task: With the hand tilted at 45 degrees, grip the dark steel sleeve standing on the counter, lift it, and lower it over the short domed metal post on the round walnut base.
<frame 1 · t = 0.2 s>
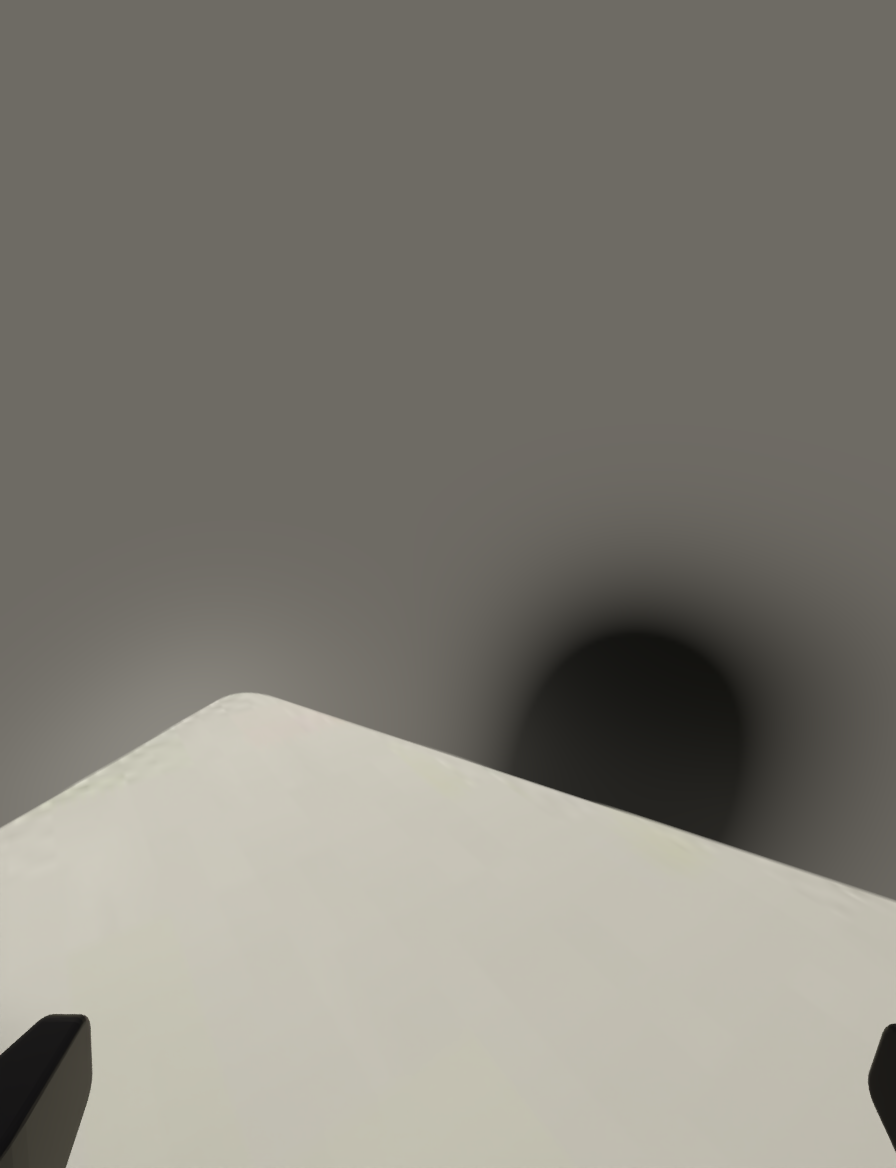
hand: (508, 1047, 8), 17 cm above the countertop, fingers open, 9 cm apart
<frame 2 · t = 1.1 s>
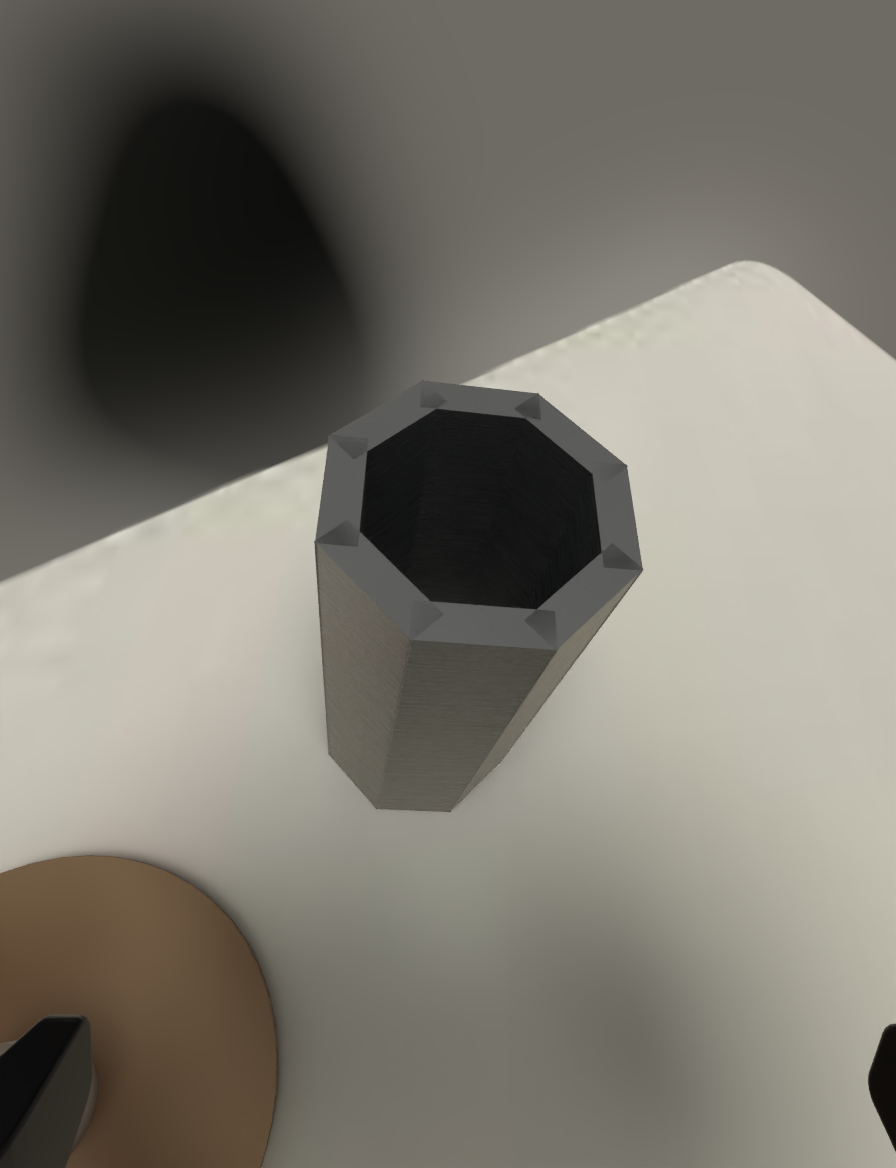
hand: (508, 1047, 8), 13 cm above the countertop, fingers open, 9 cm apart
steel sleeve: (416, 724, 23), on the countertop
post stand: (49, 1098, 17), on the countertop
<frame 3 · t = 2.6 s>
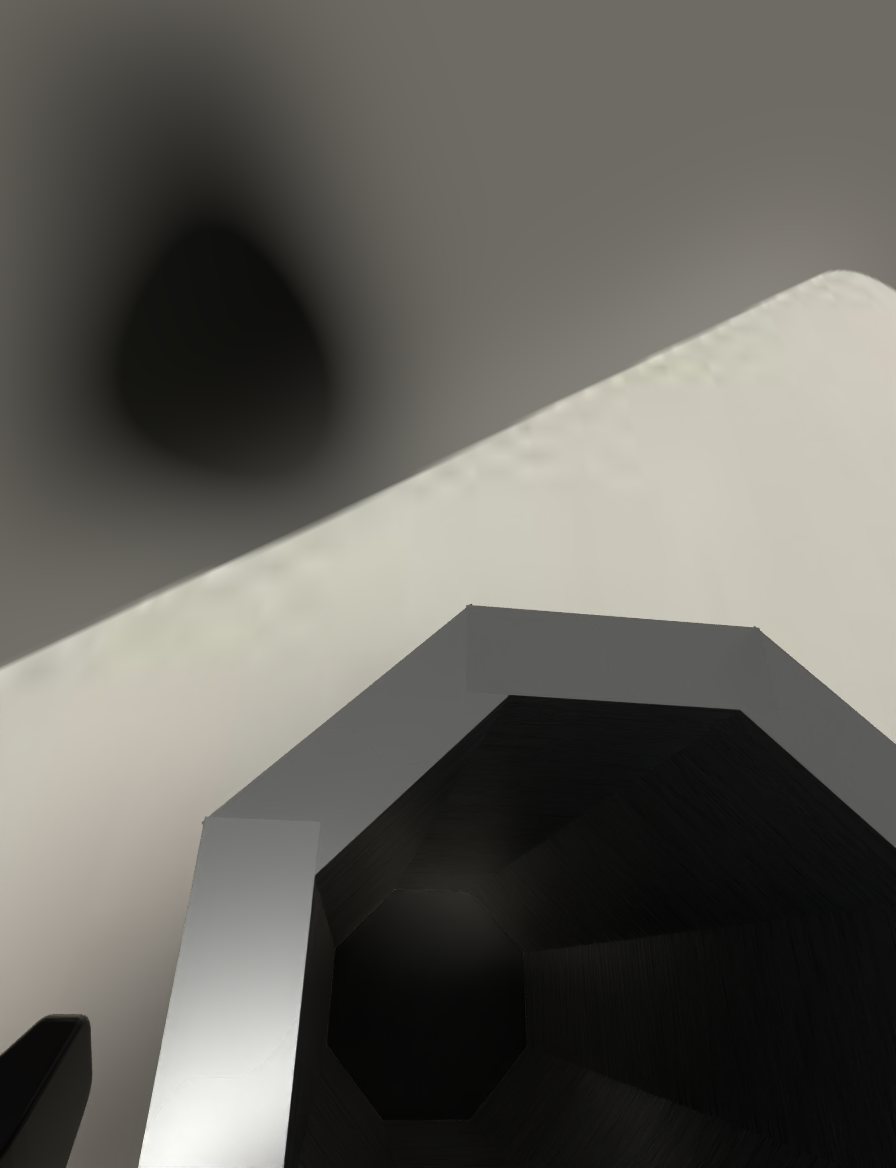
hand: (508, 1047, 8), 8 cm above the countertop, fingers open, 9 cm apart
steel sleeve: (429, 996, 15), on the countertop
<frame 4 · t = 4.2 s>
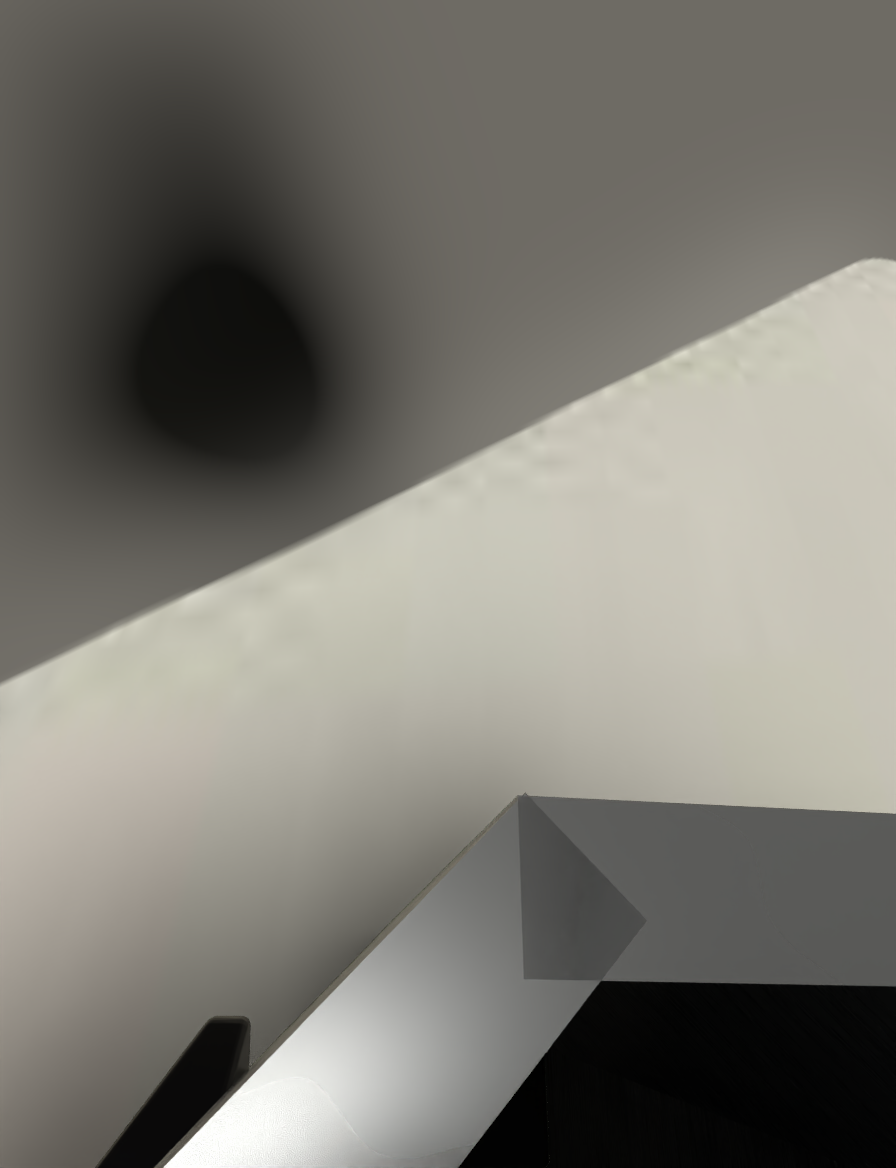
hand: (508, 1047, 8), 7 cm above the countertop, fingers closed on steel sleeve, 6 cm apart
steel sleeve: (435, 1102, 12), on the countertop, touching gripper
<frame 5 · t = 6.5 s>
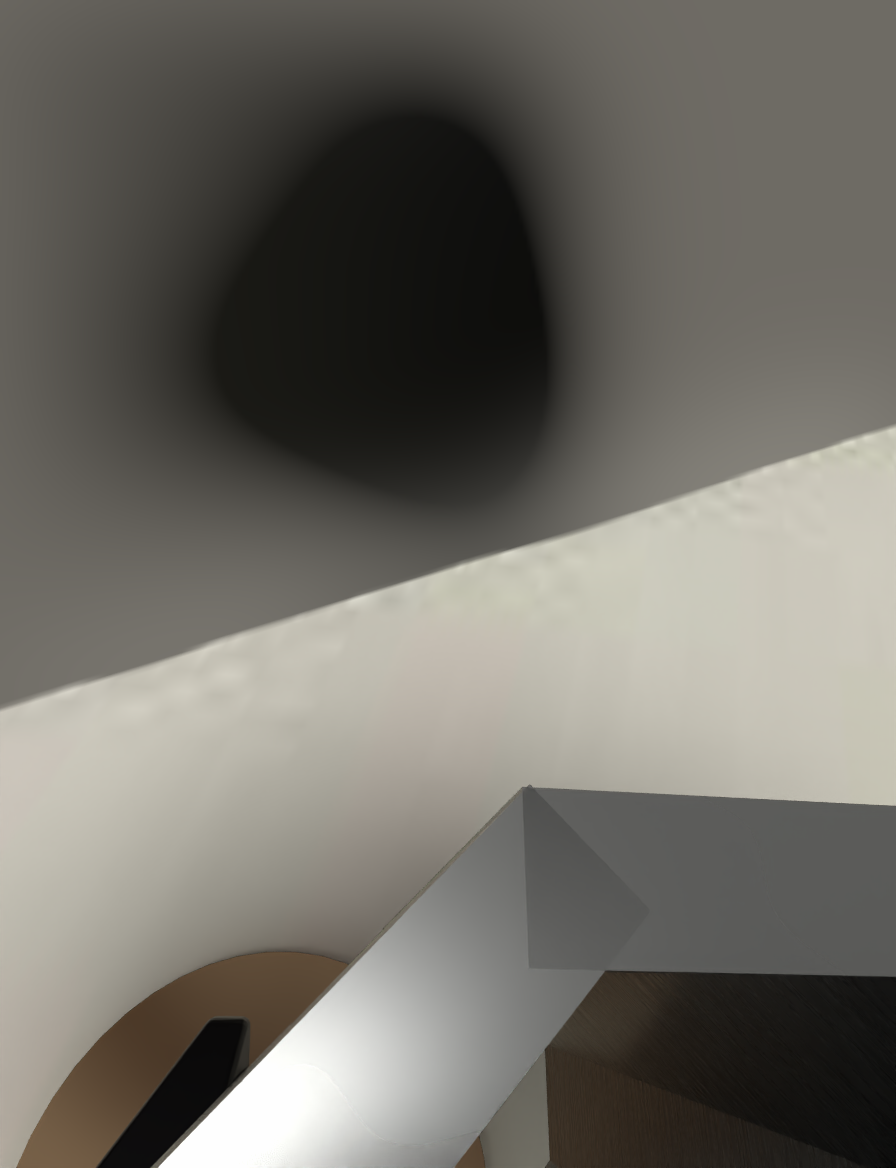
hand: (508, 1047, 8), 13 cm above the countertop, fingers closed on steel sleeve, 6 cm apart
steel sleeve: (436, 1100, 12), point 6 cm above the countertop, touching gripper
when the fingers open (8 cm above the countertop, at t = 8.9 s): steel sleeve stays where it is, resting on post stand.
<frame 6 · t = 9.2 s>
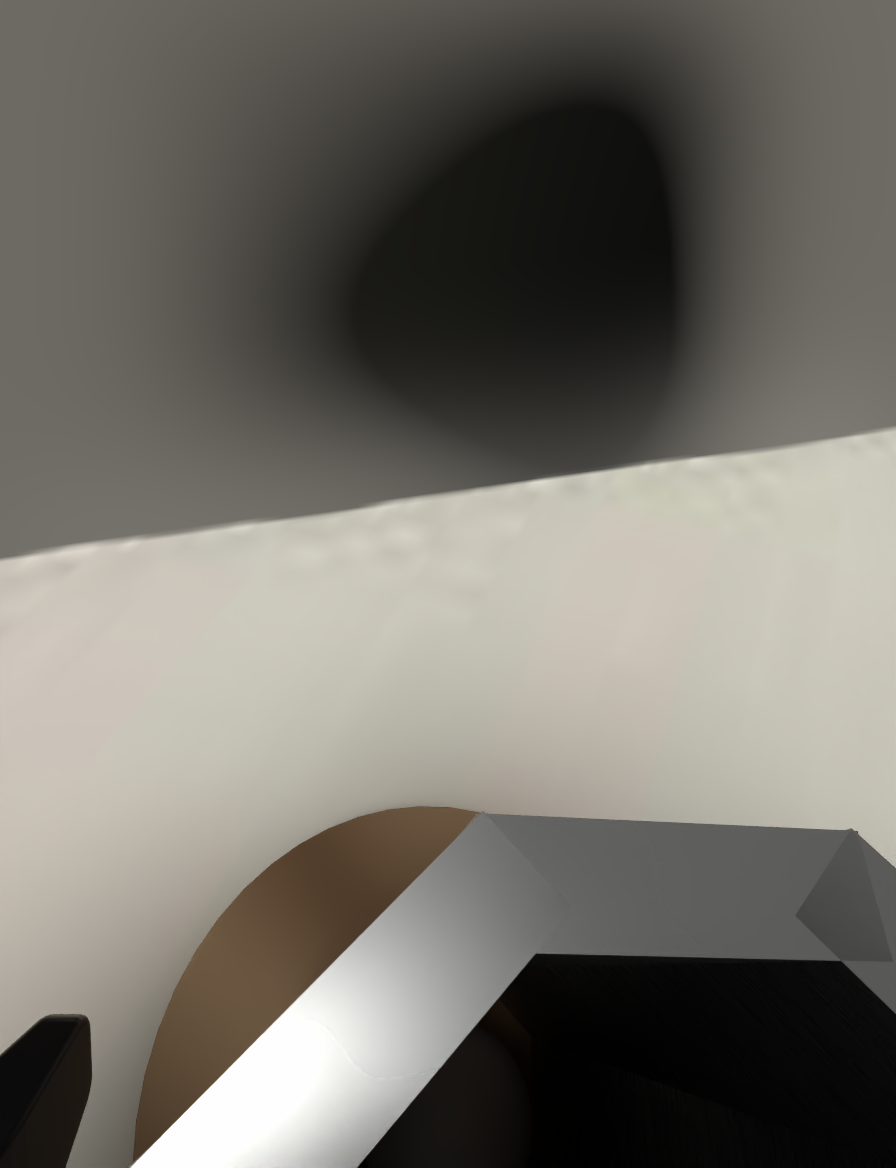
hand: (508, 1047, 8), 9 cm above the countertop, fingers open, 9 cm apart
steel sleeve: (429, 1088, 13), point 1 cm above the countertop, touching post stand
post stand: (425, 1086, 14), on the countertop
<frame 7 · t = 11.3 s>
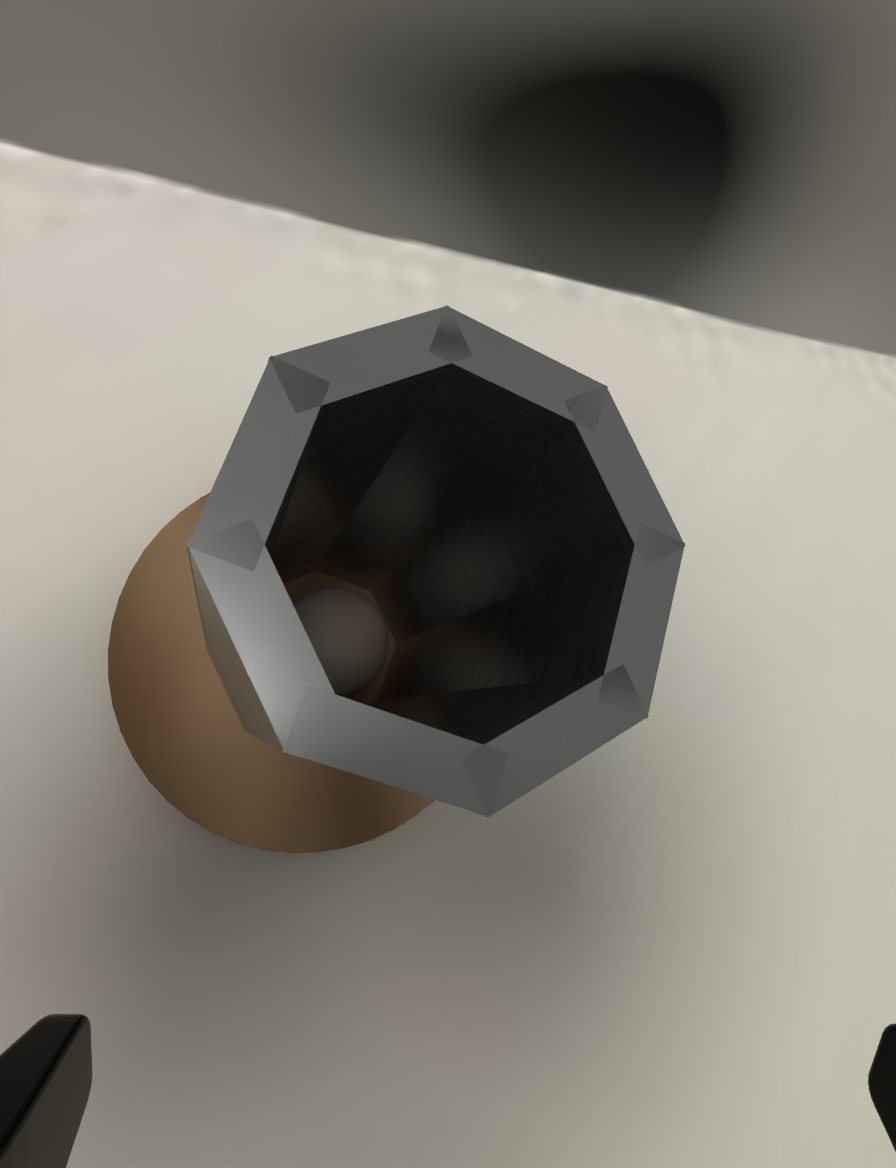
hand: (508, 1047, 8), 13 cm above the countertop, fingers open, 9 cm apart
steel sleeve: (319, 647, 19), point 1 cm above the countertop, touching post stand
post stand: (314, 653, 20), on the countertop
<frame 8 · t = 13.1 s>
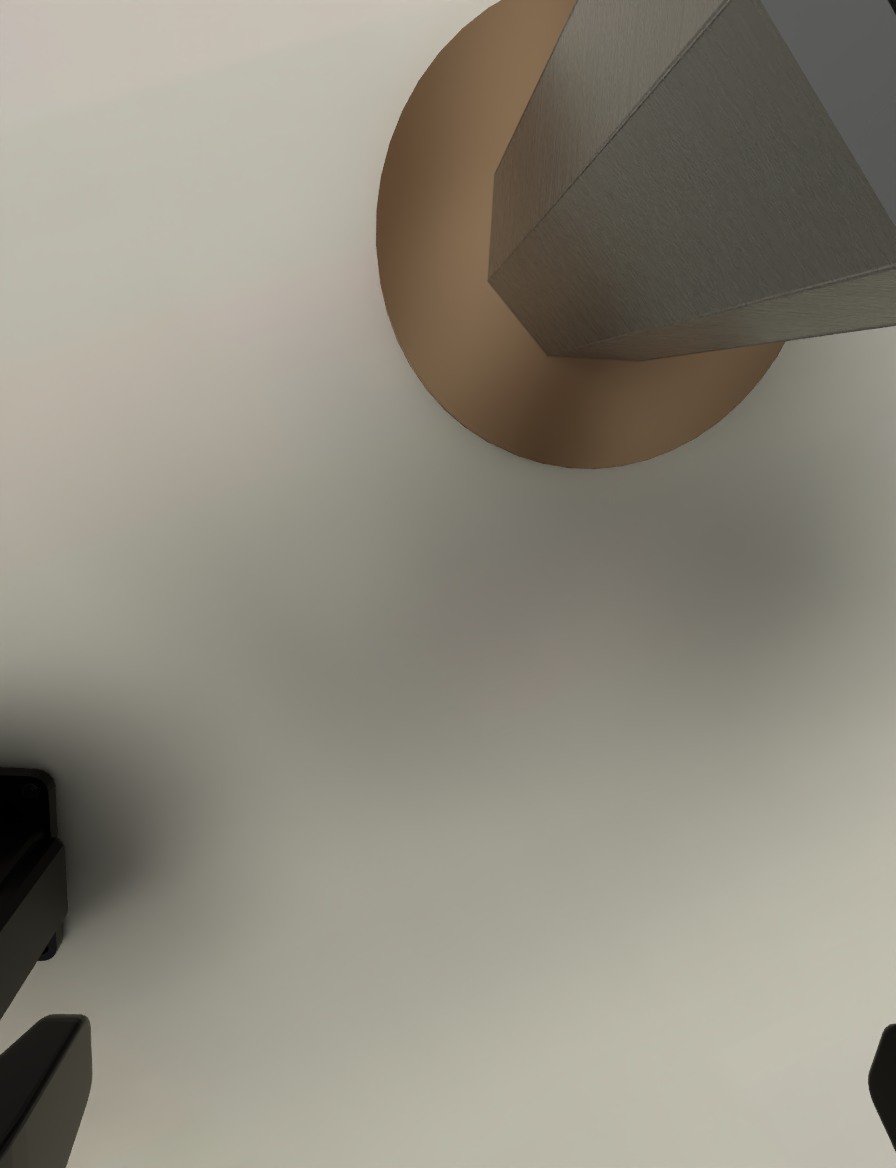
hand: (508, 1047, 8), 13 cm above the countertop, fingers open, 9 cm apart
steel sleeve: (604, 238, 17), point 1 cm above the countertop, touching post stand
post stand: (590, 250, 17), on the countertop
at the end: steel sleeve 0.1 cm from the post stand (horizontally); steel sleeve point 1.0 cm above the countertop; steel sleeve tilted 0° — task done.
